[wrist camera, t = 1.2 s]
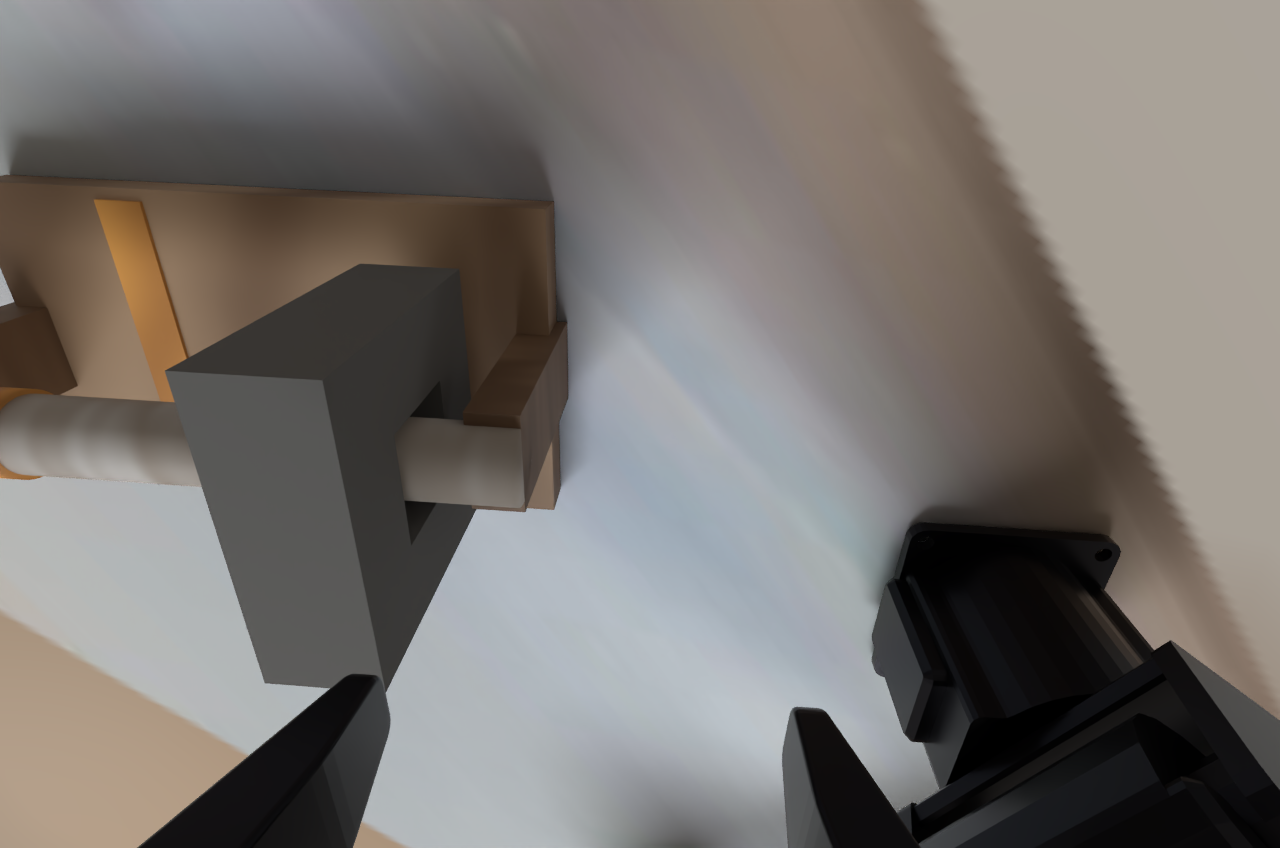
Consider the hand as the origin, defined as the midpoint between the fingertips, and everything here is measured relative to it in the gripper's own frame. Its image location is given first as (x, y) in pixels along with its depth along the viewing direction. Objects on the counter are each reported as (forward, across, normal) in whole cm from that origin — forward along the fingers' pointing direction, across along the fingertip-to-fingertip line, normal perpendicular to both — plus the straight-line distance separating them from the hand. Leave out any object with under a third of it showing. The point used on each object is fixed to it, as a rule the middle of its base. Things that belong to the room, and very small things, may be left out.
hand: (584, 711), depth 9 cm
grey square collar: (+9, +6, 0) cm, 11 cm away
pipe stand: (+12, +10, 0) cm, 16 cm away
